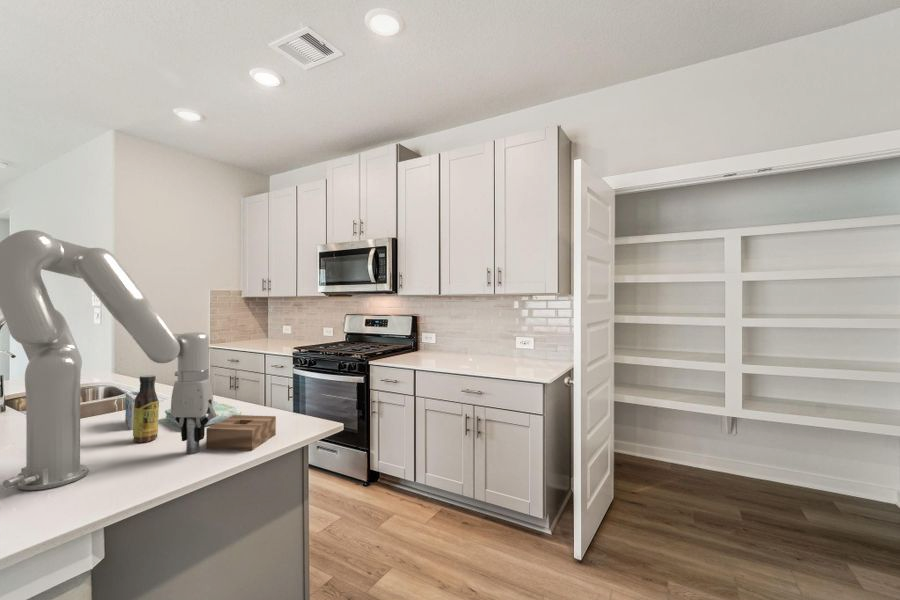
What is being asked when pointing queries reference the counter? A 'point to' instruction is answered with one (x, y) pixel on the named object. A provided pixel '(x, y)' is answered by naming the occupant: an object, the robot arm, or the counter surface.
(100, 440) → the counter surface
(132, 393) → the light bulb box
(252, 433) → the socket block
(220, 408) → the towel
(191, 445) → the pin
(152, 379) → the sauce bottle
